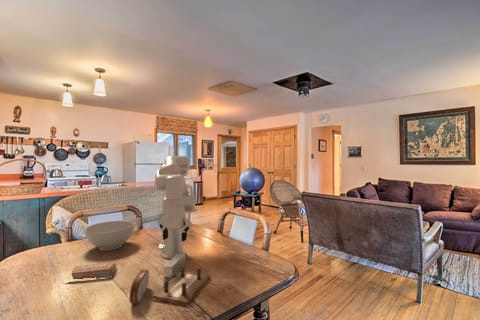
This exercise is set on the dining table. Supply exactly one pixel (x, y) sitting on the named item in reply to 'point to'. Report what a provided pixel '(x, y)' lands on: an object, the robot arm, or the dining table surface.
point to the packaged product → (94, 271)
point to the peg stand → (182, 287)
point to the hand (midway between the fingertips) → (174, 239)
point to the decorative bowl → (110, 233)
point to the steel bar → (174, 265)
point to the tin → (139, 286)
